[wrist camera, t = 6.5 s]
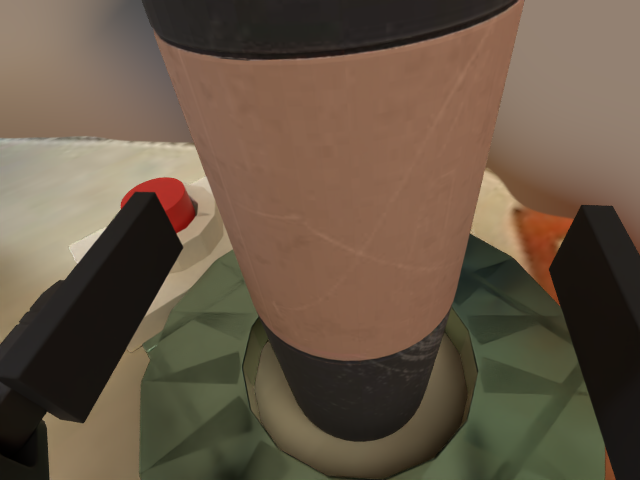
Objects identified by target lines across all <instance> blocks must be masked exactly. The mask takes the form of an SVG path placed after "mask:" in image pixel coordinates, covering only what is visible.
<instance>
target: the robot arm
mask: <svg viewBox="0 0 640 480" xmlns="http://www.w3.org/2000/svg"><path fill="white" fill-rule="evenodd" d="M183 248H184V247H183V245H182V243H181V241H180V239H179V237H178V235H177V234H176V232H175V230H174V228H173V226H172V224H171V222H170V220H169V218H168V216H167V214H166V212H165V210H164V208H163V206H162V204H161V202H160V201H159V199H158V197H157V195H156V193H155V192H134V194H133V195H132V196H131V197H130V199H129V200H128V201H127V202H126V204H125V205H124V206H123V207H122V209H121V210H120V211H119V213H118V214H117V215H116V216H115V218H114V219H113V220H112V221H111V223H110V224H109V225H108V226H107V228H106V229H105V230H104V231H103V233H102V234H101V235H100V236H99V238H98V239H97V240H96V241H95V243H94V244H93V245H92V246H91V248H90V249H89V250H88V251H87V253H86V254H85V255H84V256H83V258H82V259H81V260H80V261H79V263H78V264H77V265H76V266H75V268H74V269H73V270H72V271H71V273H70V274H69V275H68V276H67V278H66V279H65V280H59V281H58V282H56V283H55V284H54V285H52V286H51V287H50V288H49V289H47V290H46V291H45V292H43V293H42V294H41V296H40V297H39V298H38V299H37V300H36V302H35V303H34V304H33V305H32V307H31V308H30V311H29V312H27V313H26V314H25V315H24V316H23V317H22V319H21V320H20V321H19V322H20V323H19V325H16V326H15V327H14V328H13V330H12V331H11V332H10V333H9V335H8V336H7V337H6V338H5V339H4V341H3V342H2V343H1V344H0V480H49V461H48V441H47V427H46V424H45V421H43V420H42V418H43V417H44V415H45V414H46V412H49V413H51V414H52V415H54V416H55V417H57V418H59V419H61V420H67V421H73V422H79V423H84V422H85V421H86V419H87V417H88V415H89V413H90V412H91V410H92V408H93V406H94V405H95V403H96V401H97V399H98V398H99V396H100V394H101V392H102V391H103V389H104V387H105V385H106V384H107V382H108V380H109V378H110V376H111V375H112V373H113V371H114V369H115V368H116V366H117V364H118V362H119V361H120V359H121V357H122V355H123V354H124V352H125V350H126V348H127V346H128V345H129V343H130V341H131V339H132V338H133V336H134V334H135V332H136V331H137V329H138V327H139V325H140V324H141V322H142V320H143V318H144V316H145V315H146V313H147V311H148V309H149V308H150V306H151V304H152V302H153V301H154V299H155V297H156V295H157V294H158V292H159V290H160V288H161V287H162V285H163V283H164V281H165V279H166V278H167V276H168V274H169V272H170V271H171V269H172V267H173V265H174V264H175V262H176V260H177V258H178V257H179V255H180V253H181V251H182V249H183ZM549 272H550V275H551V278H552V281H553V284H554V287H555V290H556V293H557V297H558V300H559V303H560V306H561V309H562V312H563V315H564V319H565V322H566V325H567V328H568V331H569V334H570V337H571V340H572V344H573V347H574V350H575V353H576V356H577V359H578V362H579V366H580V369H581V372H582V375H583V378H584V381H585V384H586V387H587V391H588V394H589V397H590V400H591V403H592V406H593V409H594V413H595V416H596V419H597V422H598V425H599V428H600V431H601V434H602V438H603V441H604V444H605V447H606V450H607V453H608V456H609V460H610V463H611V466H612V469H613V472H614V475H615V478H616V480H640V255H639V253H638V251H637V250H636V248H635V246H634V244H633V242H632V240H631V239H630V237H629V235H628V234H627V231H626V230H625V228H624V226H623V224H622V222H621V220H620V219H619V217H618V215H617V213H616V211H615V210H614V208H613V206H598V205H596V206H595V205H581V207H580V209H579V211H578V213H577V215H576V217H575V219H574V220H573V222H572V224H571V226H570V228H569V230H568V232H567V234H566V236H565V238H564V240H563V242H562V244H561V246H560V248H559V250H558V252H557V254H556V256H555V258H554V260H553V262H552V264H551V266H550V268H549Z"/></svg>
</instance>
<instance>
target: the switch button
mask: <svg viewBox="0 0 640 480" xmlns="http://www.w3.org/2000/svg"><path fill="white" fill-rule="evenodd" d="M134 192H155V193H156V195H157V197H158V199H159V201H160V202H161V204H162V206H163V208H164V210H165V212H166V214H167V216H168V218H169V220H170V222H171V224H172V226H173V228H174V230H175V232H176V233H178V232H180V231H182V230H184V229H185V228H187V227H188V225H189V224H190V223H191V222H192V221H193V219H194V217H195V209H194V207H193V205H192V202H191V200H190V198H189V195H188V193H187V191H186V189H185V186H184V184H183V183H182V182H181V181H179V180H177V179H175V178H166V177H164V178H156V179H152V180H149V181H146V182H144V183H141V184H139V185H137V186H136V187H134V188H133V189H131V190H130V191H129V192H128V193H127V194H126V195H125V196H124V198H123V199H122V202H121V209H122V207H123V206H124V205H125V204H126V202H127V201H128V200H129V199H130V197H131V196H132V195H133V194H134Z"/></svg>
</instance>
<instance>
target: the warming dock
mask: <svg viewBox="0 0 640 480" xmlns="http://www.w3.org/2000/svg"><path fill="white" fill-rule="evenodd" d="M444 331H445V332H446V334H447V335H448V337H449V338H450V340H451V341H452V343H453V344H454V346H455V347H456V349H457V350H458V352H459V354H460V356H461V361H462V366H463V371H464V376H465V381H466V386H467V391H468V397H467V401H466V406H465V410H464V414H463V418H462V422H461V426H460V428H459V429H458V430H457V431H456V432H455V434H454V435H453V436H452V437H451V438H450V439H449V441H448V442H447V443H446V444H445V445H444V446H443V448H442V449H441V450H440V451H439V452H438V454H437V455H436V456H435V457H434V458H433V459H430V460H428V461H426V462H423V463H421V464H418V465H416V466H413V467H411V468H409V469H406V470H404V471H401V472H399V473H397V474H394V475H392V476H389V477H387V478H385V479H370V478H354V477H338V476H327V475H325V474H323V473H321V472H319V471H318V470H316V469H314V468H312V467H310V466H309V465H307V464H305V463H303V462H301V461H300V460H298V459H296V458H294V457H292V456H291V455H289V454H287V453H285V452H283V451H282V450H280V449H279V448H278V446H277V445H276V444H275V442H274V441H273V439H272V438H271V437H270V435H269V434H268V432H267V431H266V430H265V428H264V427H263V426H262V424H261V420H260V415H259V410H258V406H257V401H256V396H255V391H254V384H255V379H256V374H257V369H258V364H259V359H260V354H261V350H262V348H263V347H264V345H265V344H266V342H267V341H268V336H267V334H266V332H265V330H264V327H263V325H262V323H261V321H260V318H259V316H258V314H257V312H256V309H255V307H254V305H253V302H252V299H251V297H250V294H249V291H248V288H247V286H246V283H245V280H244V277H243V275H242V272H241V269H240V267H239V264H238V261H237V258H236V256H235V253H234V250H231V251H229V252H228V253H226V254H225V255H223V256H221V257H220V258H218V259H217V260H215V261H214V262H213V263H212V265H211V266H210V267H209V268H208V269H207V270H206V271H205V273H204V274H203V275H202V276H201V277H200V278H199V279H198V280H197V282H196V283H195V284H194V285H193V286H192V287H191V288H190V290H189V291H188V292H187V293H186V294H185V295H184V296H183V297H182V299H181V300H180V301H179V302H178V303H177V304H176V305H175V307H174V308H173V309H172V310H171V312H170V314H169V316H168V319H167V321H166V323H165V326H164V328H163V330H162V331H161V332H159V333H158V334H156V335H155V336H153V337H152V338H150V339H149V340H147V341H146V342H144V343H143V344H142V346H143V348H144V350H145V351H146V353H147V355H148V357H149V358H150V362H149V364H148V367H147V369H146V372H145V374H144V376H143V379H142V381H141V398H140V450H139V474H140V475H139V477H140V479H141V480H605V444H604V441H603V438H602V434H601V431H600V428H599V425H598V422H597V419H596V416H595V413H594V409H593V406H592V403H591V400H590V397H589V394H588V391H587V387H586V384H585V381H584V378H583V375H582V372H581V369H580V366H579V362H578V359H577V356H576V353H575V350H574V347H573V344H572V340H571V337H570V334H569V331H568V328H567V325H566V322H565V319H564V315H563V312H562V309H561V307H560V306H559V305H558V304H557V303H556V302H555V301H554V300H553V299H552V298H551V297H550V295H549V294H548V293H547V292H546V291H545V290H544V289H543V288H542V287H541V286H540V285H539V284H538V283H537V282H536V281H535V280H534V279H533V278H532V277H531V276H530V275H529V274H528V273H527V272H526V271H525V270H524V268H523V267H522V266H521V265H520V264H519V263H518V262H517V261H516V260H515V259H514V258H512V257H511V256H509V255H508V254H506V253H504V252H502V251H500V250H499V249H497V248H495V247H493V246H491V245H490V244H488V243H486V242H484V241H482V240H481V239H479V238H477V237H475V236H473V235H471V234H469V239H468V243H467V247H466V251H465V256H464V260H463V264H462V268H461V273H460V277H459V281H458V285H457V289H456V293H455V297H454V300H453V304H452V308H451V311H450V314H449V317H448V320H447V324H446V327H445V330H444Z"/></svg>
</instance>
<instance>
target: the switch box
mask: <svg viewBox="0 0 640 480" xmlns="http://www.w3.org/2000/svg"><path fill="white" fill-rule="evenodd" d="M184 186H185V189H186V191H187V193H188V195H189V198H190V200H191V202H192V205H193V207H194V209H195V217H194V219H193V221H192V222H191V223H190V224H189V225H188V227H187V228H185V229H184V230H182V231H180V232H178V233H176V234H177V235H178V237H179V239H180V241H181V243H182V245H183V247H184V248H183V249H182V251H181V253H180V255H179V257H178V258H177V260H176V262H175V264H174V265H173V267H172V269H171V271H170V272H169V274H168V276H167V278H166V279H165V281H164V283H163V285H162V287H161V288H160V290H159V292H158V294H157V295H156V297H155V299H154V301H153V302H152V304H151V306H150V308H149V309H148V311H147V313H146V315H145V316H144V318H143V320H142V322H141V324H140V325H139V327H138V329H137V331H136V332H135V334H134V336H133V338H132V339H131V341H130V343H129V345H128V346H127V348H126V349H127V350H128V351H129V352H130V353H132V352H133V351H135V350H136V349H138V348H139V347H141V346H142V344H143V343H144V342H146V341H147V340H149V339H150V338H152V337H153V336H155V335H156V334H158V333H159V332H161V331H162V330H163V328H164V326H165V323H166V321H167V319H168V316H169V314H170V312H171V310H172V309H173V308H174V307H175V305H176V304H177V303H178V302H179V301H180V300H181V299H182V297H183V296H184V295H185V294H186V293H187V292H188V291H189V290H190V288H191V287H192V286H193V285H194V284H195V283H196V282H197V280H198V279H199V278H200V277H201V276H202V275H203V274H204V273H205V271H206V270H207V269H208V268H209V267H210V266H211V265H212V263H213V262H214V261H215V260H217V259H218V258H220V257H221V256H223V255H225V254H226V253H228V252H229V251H231V250H233V248H232V245H231V242H230V239H229V237H228V234H227V231H226V229H225V226H224V223H223V220H222V218H221V215H220V212H219V209H218V207H217V204H216V201H215V199H214V196H213V193H212V190H211V188H210V185H209V182H208V180H207V177H206V176H204V177H203V178H201V179H199V180H197V181H195V182H193V183H191V184H184ZM118 213H119V212H118ZM118 213H117V214H118ZM117 214H116V215H117ZM116 215H115V216H116ZM115 216H114V217H113V219H114V218H115ZM106 228H107V226H106V227H104V228H102V229H100V230H98V231H96V232H94V233H93V234H91V235H89V236H87V237H85V238H83V239H81V240H79V241H77V242H75V243H73V244H71V245H69V246H68V247H69V249H70V251H71V253H72V255H73V257H74V259H75V261H76V263H77V264H78V263H79V261H80V260H81V259H82V258H83V256H84V255H85V254H86V253H87V251H88V250H89V249H90V248H91V246H92V245H93V244H94V243H95V241H96V240H97V239H98V238H99V236H100V235H101V234H102V233H103V231H104V230H105V229H106Z"/></svg>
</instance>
